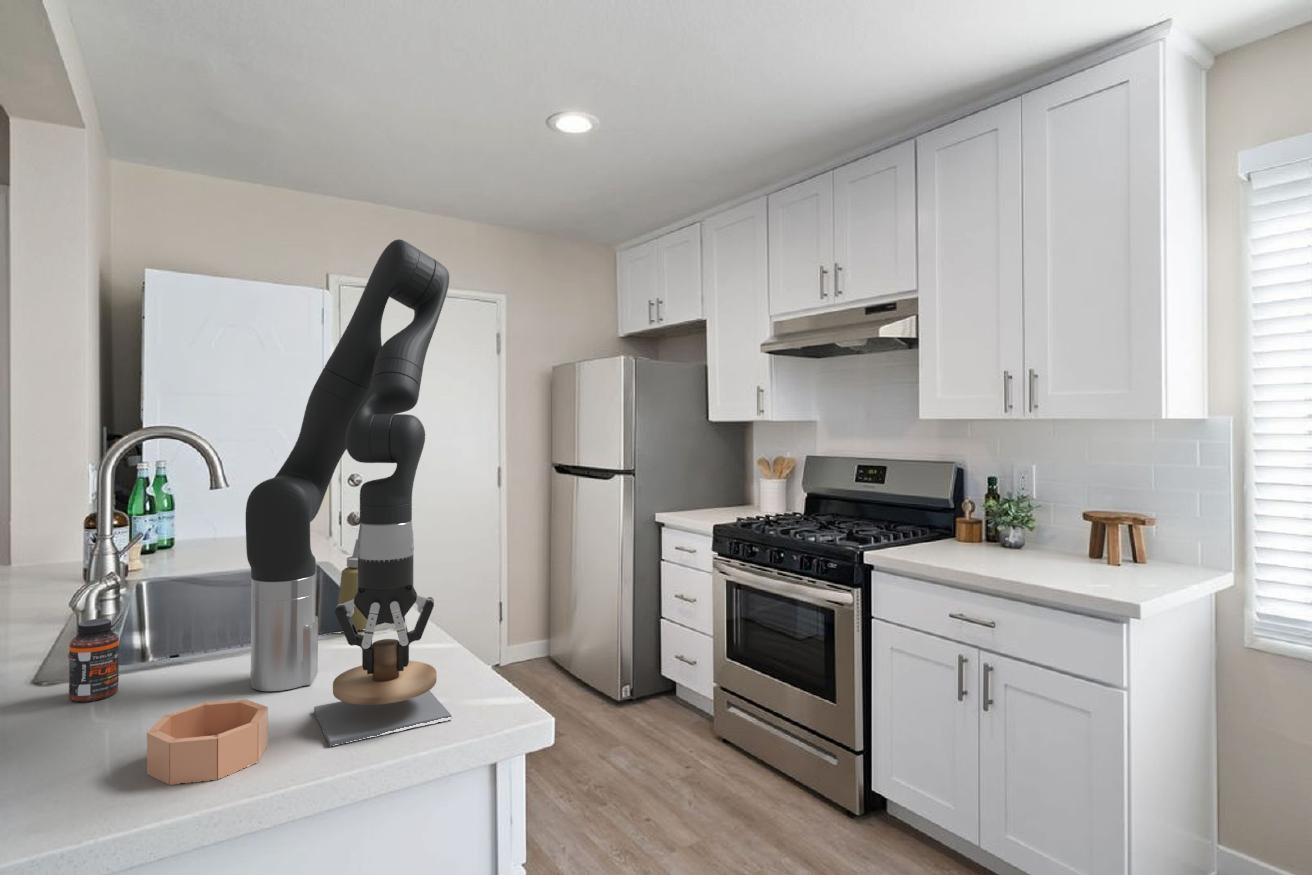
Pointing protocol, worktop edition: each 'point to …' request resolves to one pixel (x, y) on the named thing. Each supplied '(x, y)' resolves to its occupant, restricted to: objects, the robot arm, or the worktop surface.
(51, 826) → the worktop surface
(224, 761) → the bowl
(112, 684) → the supplement bottle
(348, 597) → the squeeze bottle
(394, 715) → the mat
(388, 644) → the lid
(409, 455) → the robot arm
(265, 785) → the worktop surface
